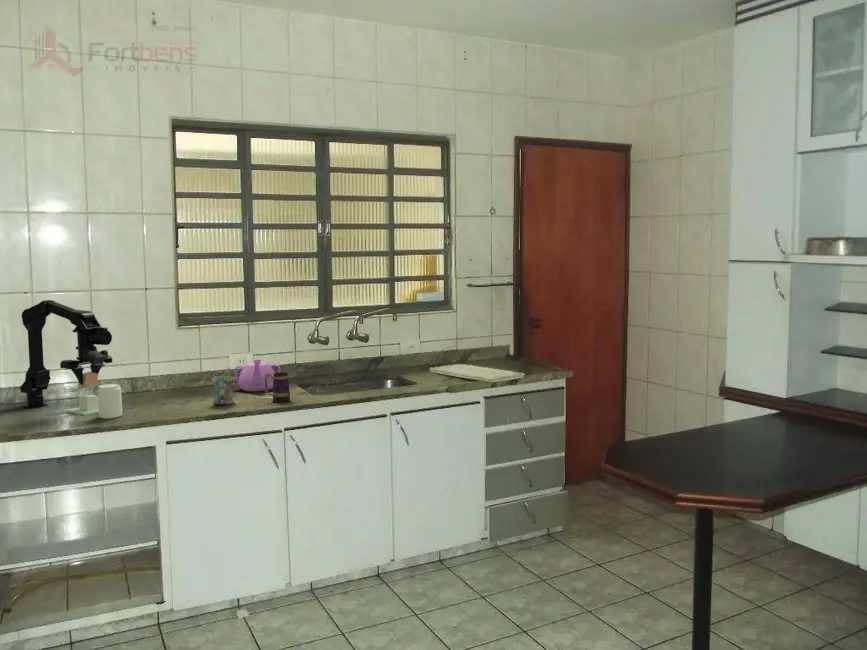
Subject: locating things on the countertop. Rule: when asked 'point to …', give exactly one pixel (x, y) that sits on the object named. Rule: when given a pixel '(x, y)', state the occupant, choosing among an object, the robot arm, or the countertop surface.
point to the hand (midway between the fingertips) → (88, 383)
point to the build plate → (82, 411)
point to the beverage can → (109, 401)
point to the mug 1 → (223, 390)
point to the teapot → (255, 376)
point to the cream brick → (88, 402)
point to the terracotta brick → (89, 380)
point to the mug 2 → (279, 387)
